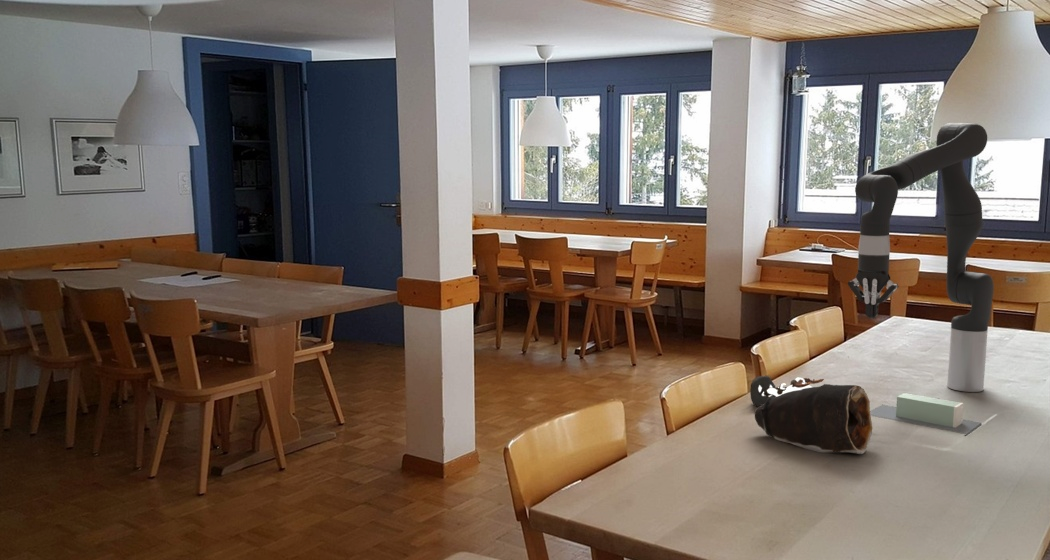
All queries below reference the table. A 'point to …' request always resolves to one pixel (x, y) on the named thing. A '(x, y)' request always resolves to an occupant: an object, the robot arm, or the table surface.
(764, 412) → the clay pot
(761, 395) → the figurine
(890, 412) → the slate mat
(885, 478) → the table surface
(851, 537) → the table surface
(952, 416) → the sage block
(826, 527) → the table surface
